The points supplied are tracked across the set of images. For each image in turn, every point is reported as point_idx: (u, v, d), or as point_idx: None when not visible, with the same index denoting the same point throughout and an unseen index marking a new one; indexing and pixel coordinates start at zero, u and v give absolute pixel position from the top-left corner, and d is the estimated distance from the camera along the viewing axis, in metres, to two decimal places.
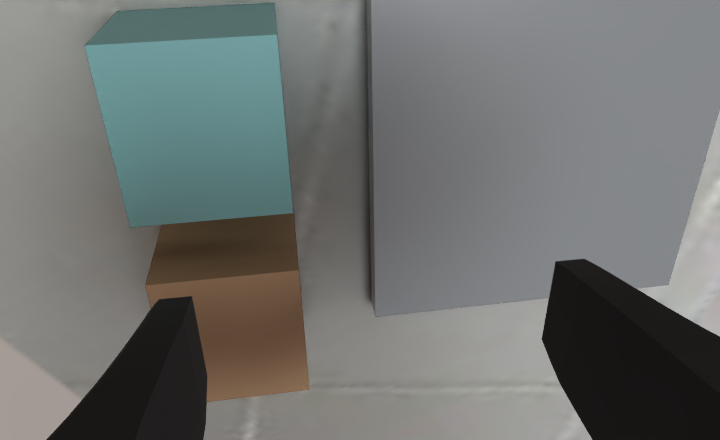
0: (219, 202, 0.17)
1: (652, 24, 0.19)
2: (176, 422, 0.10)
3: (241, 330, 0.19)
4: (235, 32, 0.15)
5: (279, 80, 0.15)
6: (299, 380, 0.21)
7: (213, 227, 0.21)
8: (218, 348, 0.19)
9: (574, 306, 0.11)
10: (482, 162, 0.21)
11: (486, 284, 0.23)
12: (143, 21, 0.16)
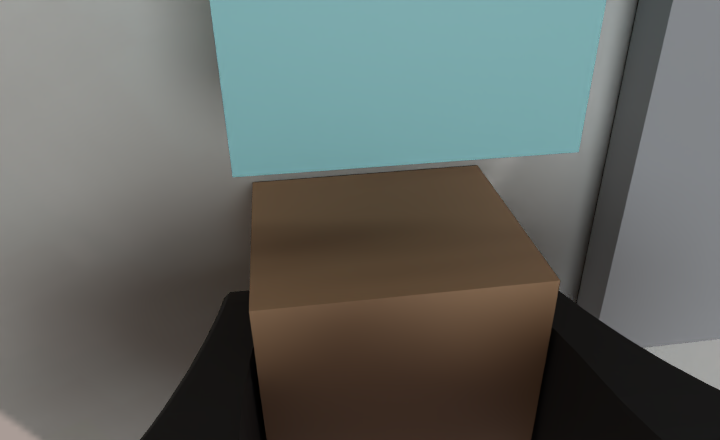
0: (433, 123, 0.08)
1: None
2: (258, 412, 0.10)
3: (424, 397, 0.10)
4: None
5: None
6: None
7: (349, 198, 0.11)
8: (375, 431, 0.10)
9: None
10: None
11: None
12: None
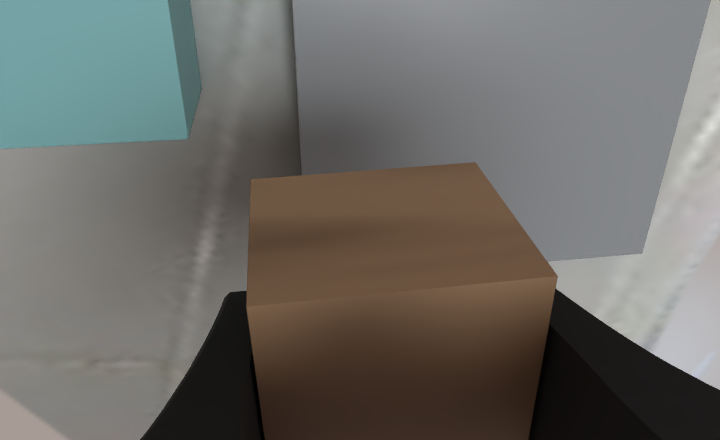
0: (96, 121, 0.14)
1: None
2: (258, 412, 0.10)
3: (422, 393, 0.10)
4: None
5: None
6: None
7: (347, 195, 0.11)
8: (372, 427, 0.10)
9: None
10: (426, 98, 0.18)
11: None
12: None
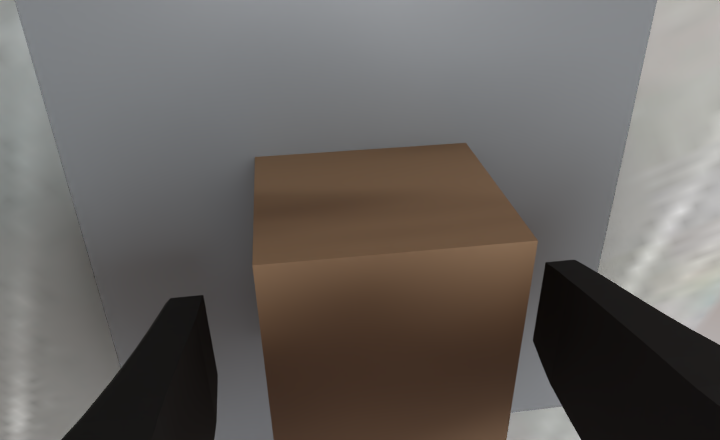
0: None
1: (499, 53, 0.12)
2: (189, 420, 0.10)
3: (413, 352, 0.11)
4: None
5: None
6: (491, 437, 0.12)
7: (345, 171, 0.12)
8: (368, 384, 0.11)
9: (563, 307, 0.11)
10: None
11: None
12: None
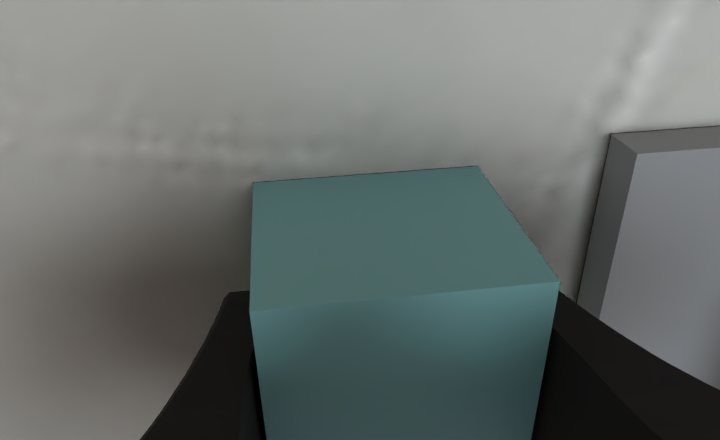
0: None
1: None
2: (258, 413, 0.10)
3: None
4: (481, 268, 0.09)
5: (546, 340, 0.10)
6: None
7: None
8: None
9: None
10: None
11: None
12: (308, 222, 0.11)
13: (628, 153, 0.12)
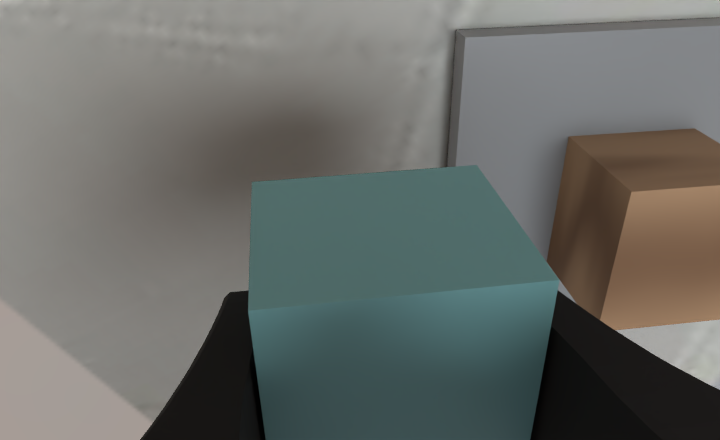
0: None
1: None
2: (258, 412, 0.10)
3: (697, 247, 0.18)
4: (480, 266, 0.09)
5: (545, 339, 0.10)
6: None
7: (634, 144, 0.20)
8: (666, 267, 0.18)
9: None
10: (556, 200, 0.21)
11: None
12: (307, 221, 0.10)
13: (462, 39, 0.18)
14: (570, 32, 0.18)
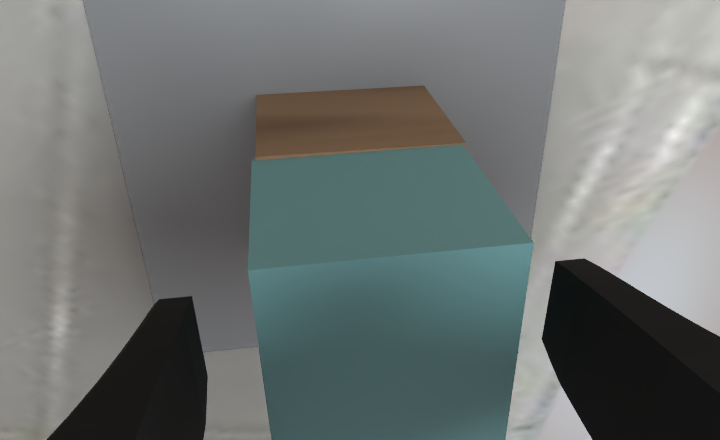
0: None
1: (447, 12, 0.16)
2: (176, 422, 0.10)
3: None
4: (461, 232, 0.10)
5: (522, 299, 0.10)
6: None
7: (327, 103, 0.15)
8: None
9: (574, 306, 0.11)
10: None
11: None
12: (303, 194, 0.11)
13: None
14: None
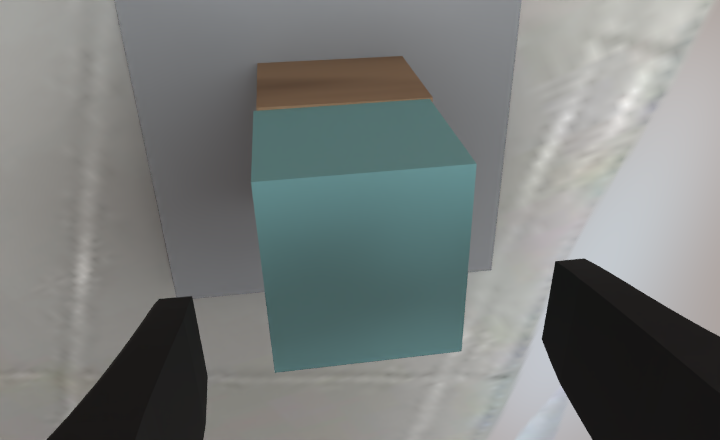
0: (380, 343, 0.14)
1: None
2: (176, 422, 0.10)
3: None
4: (421, 157, 0.13)
5: (470, 212, 0.13)
6: None
7: (317, 69, 0.18)
8: None
9: (574, 306, 0.11)
10: None
11: None
12: (295, 133, 0.14)
13: None
14: None
